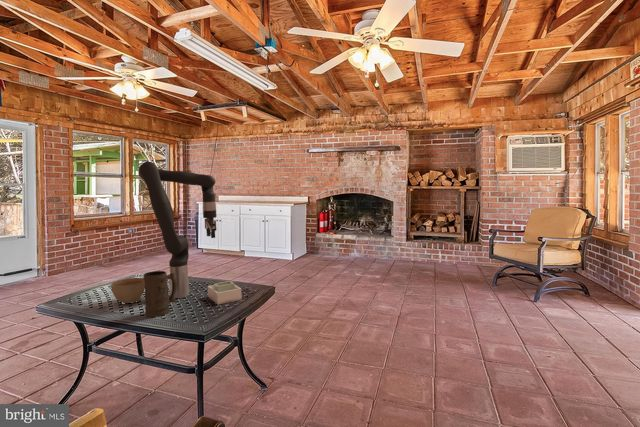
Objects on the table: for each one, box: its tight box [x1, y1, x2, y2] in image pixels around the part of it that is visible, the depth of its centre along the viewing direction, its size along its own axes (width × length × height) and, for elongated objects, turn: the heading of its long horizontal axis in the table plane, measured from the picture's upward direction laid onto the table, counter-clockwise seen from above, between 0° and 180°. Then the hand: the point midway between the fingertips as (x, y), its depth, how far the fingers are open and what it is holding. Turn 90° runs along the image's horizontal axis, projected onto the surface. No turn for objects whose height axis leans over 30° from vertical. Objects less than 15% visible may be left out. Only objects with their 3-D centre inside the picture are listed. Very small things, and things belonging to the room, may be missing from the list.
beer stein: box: [143, 270, 177, 318], centre depth 169 cm, size 15×11×20 cm
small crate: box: [213, 280, 235, 293], centre depth 187 cm, size 9×6×7 cm
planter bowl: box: [110, 277, 145, 303], centre depth 185 cm, size 16×16×11 cm
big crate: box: [207, 283, 243, 306], centre depth 187 cm, size 13×16×6 cm
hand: (210, 237), depth 206 cm, fingers open, 8 cm apart
